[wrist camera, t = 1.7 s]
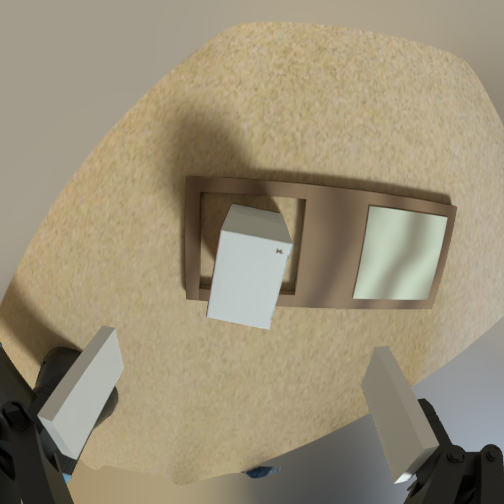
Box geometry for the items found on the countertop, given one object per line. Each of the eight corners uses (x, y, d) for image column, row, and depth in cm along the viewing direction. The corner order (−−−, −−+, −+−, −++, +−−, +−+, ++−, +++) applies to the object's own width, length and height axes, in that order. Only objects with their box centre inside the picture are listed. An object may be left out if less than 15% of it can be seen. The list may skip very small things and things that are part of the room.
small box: (232, 202, 31) (219, 226, 21) (283, 213, 32) (294, 241, 22) (218, 270, 34) (203, 318, 24) (266, 280, 34) (269, 331, 24)
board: (188, 294, 35) (185, 300, 34) (188, 176, 30) (185, 177, 29) (427, 304, 35) (432, 309, 34) (451, 204, 31) (457, 207, 29)
